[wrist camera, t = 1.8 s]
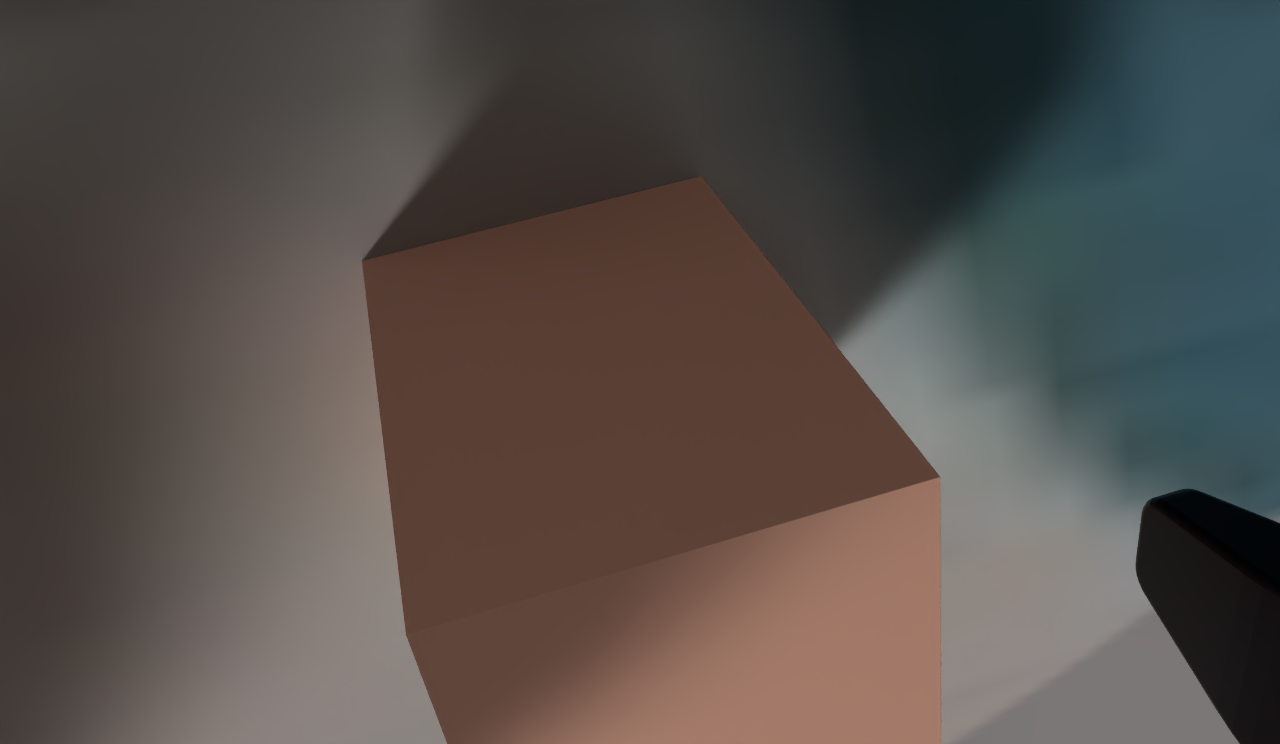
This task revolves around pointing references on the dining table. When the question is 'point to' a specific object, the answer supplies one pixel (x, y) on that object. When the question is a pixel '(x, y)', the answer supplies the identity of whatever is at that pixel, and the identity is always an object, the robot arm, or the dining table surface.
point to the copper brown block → (647, 491)
